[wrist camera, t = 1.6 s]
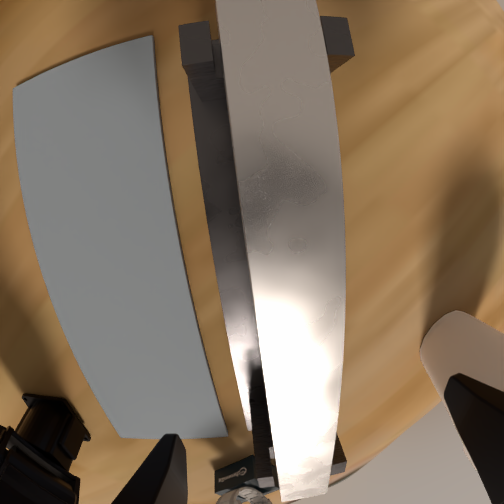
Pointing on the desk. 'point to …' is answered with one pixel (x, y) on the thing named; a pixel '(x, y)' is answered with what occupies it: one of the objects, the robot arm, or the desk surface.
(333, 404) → the rail
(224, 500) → the watch
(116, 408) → the mat
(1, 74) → the desk surface
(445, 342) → the foam cup
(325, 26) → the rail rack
